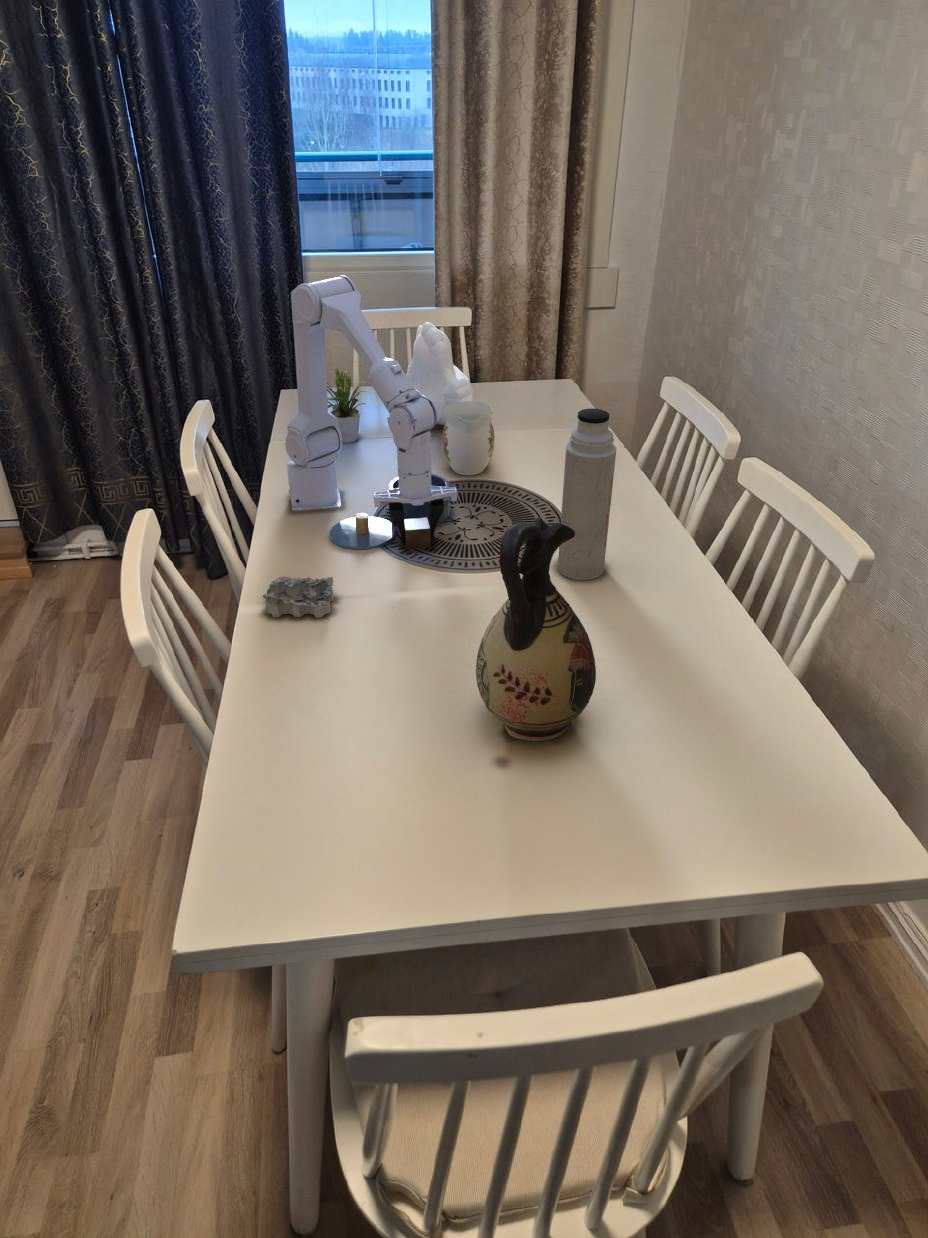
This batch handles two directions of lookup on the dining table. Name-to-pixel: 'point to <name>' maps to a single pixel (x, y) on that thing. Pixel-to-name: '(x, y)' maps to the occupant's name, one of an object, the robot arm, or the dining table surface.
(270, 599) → the egg carton
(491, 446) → the pitcher
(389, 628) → the dining table surface
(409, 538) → the block
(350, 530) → the lid
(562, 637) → the ceramic jug
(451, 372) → the decorative rooster
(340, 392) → the house plant
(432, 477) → the canister
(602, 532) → the thermos bottle
